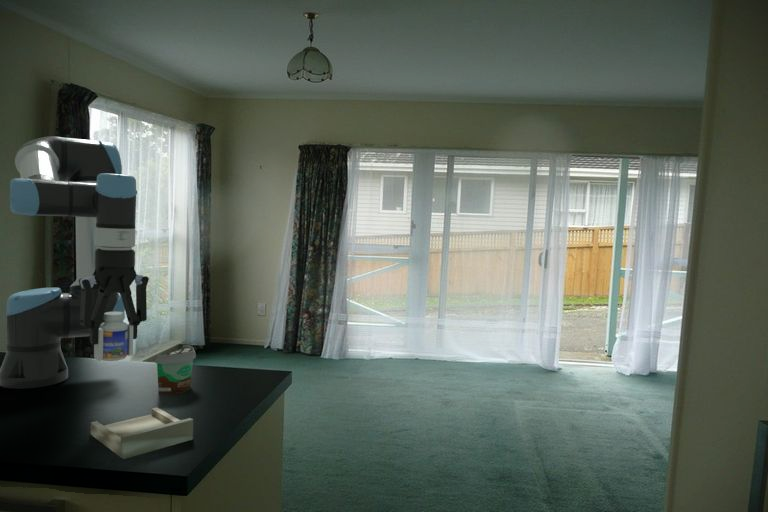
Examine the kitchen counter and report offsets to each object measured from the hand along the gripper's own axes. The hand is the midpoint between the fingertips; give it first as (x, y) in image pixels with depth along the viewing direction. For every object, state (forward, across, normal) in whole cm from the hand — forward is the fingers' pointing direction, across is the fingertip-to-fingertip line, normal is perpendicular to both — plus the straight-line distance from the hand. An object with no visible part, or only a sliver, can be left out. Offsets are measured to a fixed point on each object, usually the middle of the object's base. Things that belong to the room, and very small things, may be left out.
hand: (113, 356), depth 116 cm
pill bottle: (+1, 0, 0) cm, 1 cm away
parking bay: (+13, 0, -14) cm, 19 cm away
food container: (+14, +20, +8) cm, 26 cm away
